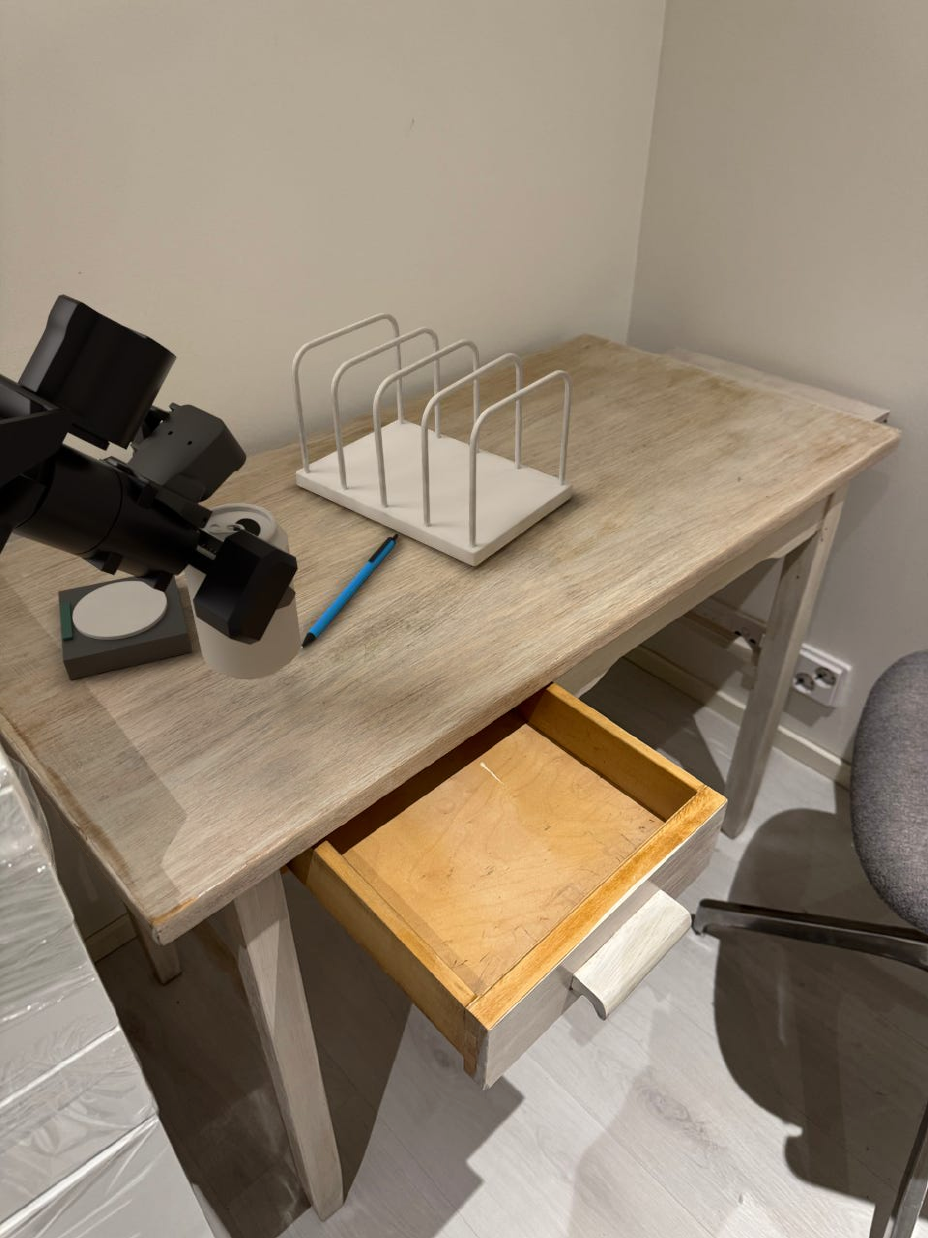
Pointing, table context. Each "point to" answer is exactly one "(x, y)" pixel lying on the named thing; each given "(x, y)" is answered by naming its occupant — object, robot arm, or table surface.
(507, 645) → the table surface
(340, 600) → the pen
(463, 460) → the file sorter
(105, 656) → the scale
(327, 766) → the table surface
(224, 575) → the robot arm
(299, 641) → the can
